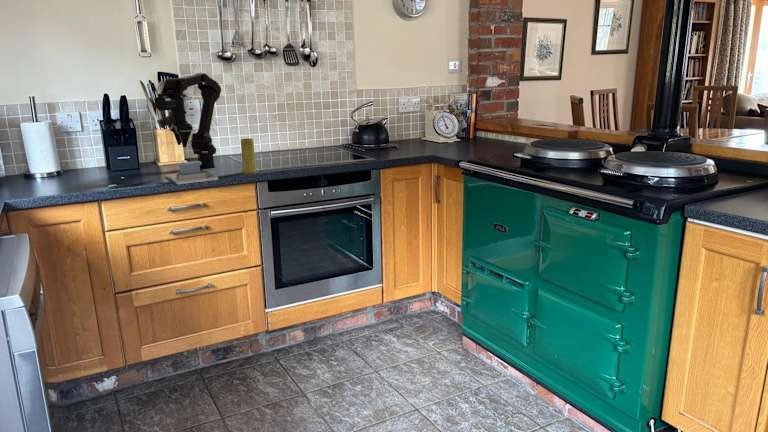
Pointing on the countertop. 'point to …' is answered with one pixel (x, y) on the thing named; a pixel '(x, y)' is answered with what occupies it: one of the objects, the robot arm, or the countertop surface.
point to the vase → (248, 156)
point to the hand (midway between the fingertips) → (181, 146)
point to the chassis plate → (192, 177)
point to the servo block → (189, 167)
